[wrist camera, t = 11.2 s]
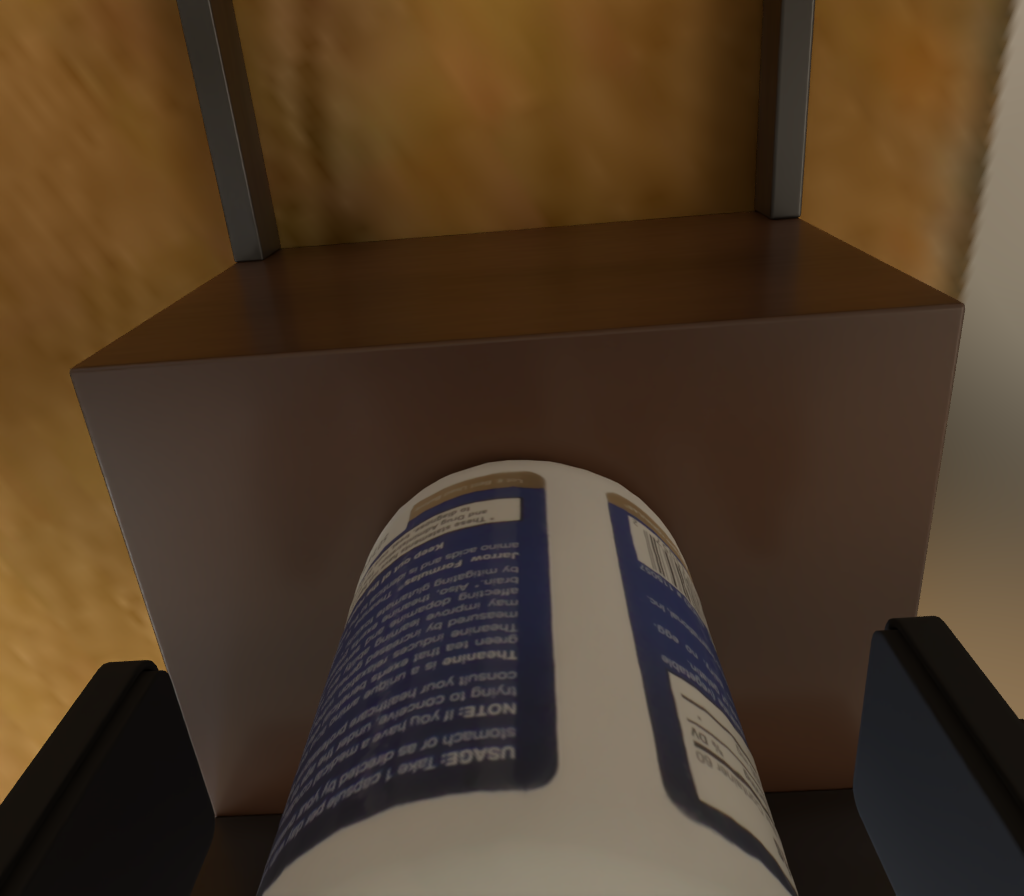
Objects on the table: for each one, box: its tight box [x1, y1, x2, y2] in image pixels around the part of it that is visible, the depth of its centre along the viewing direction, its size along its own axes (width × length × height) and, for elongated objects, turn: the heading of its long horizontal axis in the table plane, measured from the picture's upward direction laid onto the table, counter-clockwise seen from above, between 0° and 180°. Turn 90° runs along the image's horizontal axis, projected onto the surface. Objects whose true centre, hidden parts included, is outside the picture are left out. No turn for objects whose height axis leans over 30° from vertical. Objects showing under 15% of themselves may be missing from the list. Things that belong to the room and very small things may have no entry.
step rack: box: [70, 0, 965, 896], centre depth 14 cm, size 20×13×12 cm, turn 5°
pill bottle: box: [256, 460, 798, 896], centre depth 9 cm, size 5×5×10 cm
